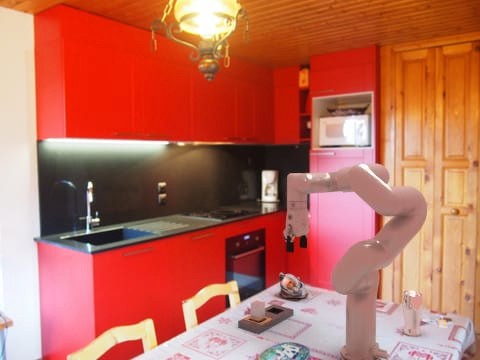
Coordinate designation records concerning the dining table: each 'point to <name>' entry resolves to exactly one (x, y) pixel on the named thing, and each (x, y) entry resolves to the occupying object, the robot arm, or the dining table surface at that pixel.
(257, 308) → the steel peg
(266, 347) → the dining table surface
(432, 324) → the dining table surface
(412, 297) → the beer glass
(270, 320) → the hole rail
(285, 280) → the lucky cat figurine
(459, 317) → the dining table surface
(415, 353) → the dining table surface
